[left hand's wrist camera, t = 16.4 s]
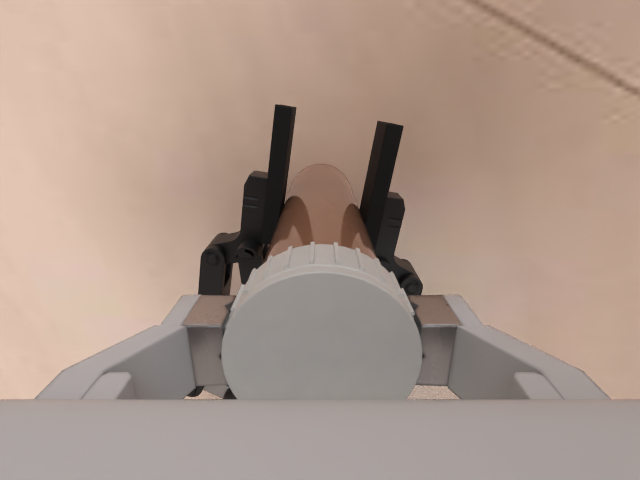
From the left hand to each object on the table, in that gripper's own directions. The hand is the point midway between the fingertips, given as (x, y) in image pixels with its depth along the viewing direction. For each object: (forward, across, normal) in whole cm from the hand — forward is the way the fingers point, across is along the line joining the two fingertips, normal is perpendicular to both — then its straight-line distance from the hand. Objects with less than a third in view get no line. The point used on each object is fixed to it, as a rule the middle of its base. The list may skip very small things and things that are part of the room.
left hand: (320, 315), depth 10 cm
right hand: (+9, -1, -5) cm, 10 cm away
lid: (-2, 0, 0) cm, 2 cm away
